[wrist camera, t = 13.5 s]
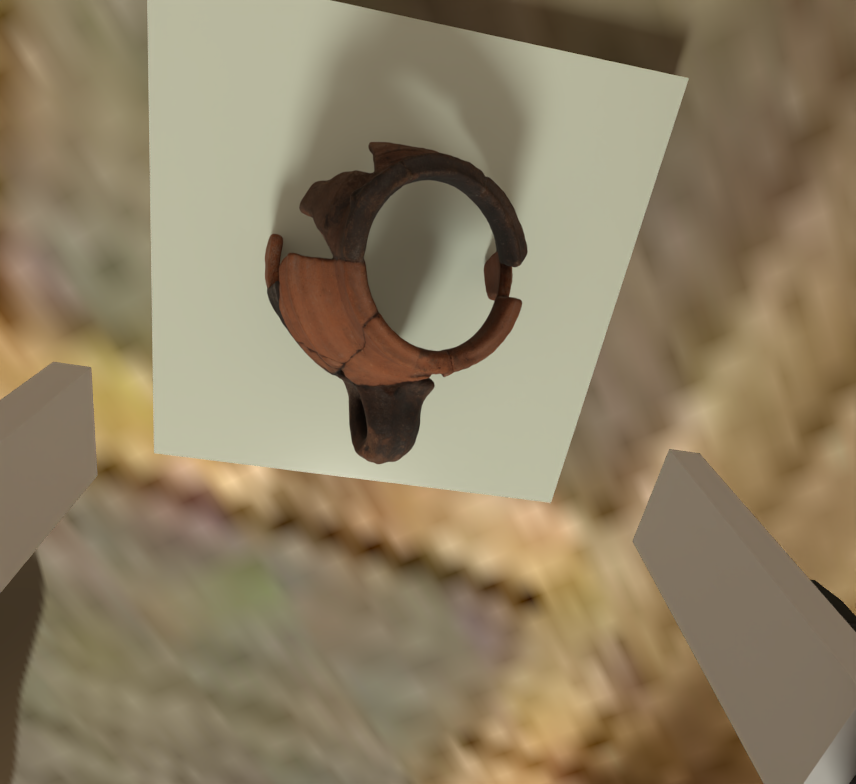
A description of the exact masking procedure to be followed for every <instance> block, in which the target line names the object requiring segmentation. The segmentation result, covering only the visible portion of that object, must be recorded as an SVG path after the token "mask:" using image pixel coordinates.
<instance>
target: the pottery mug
mask: <svg viewBox="0 0 856 784" xmlns="http://www.w3.org/2000/svg"><path fill="white" fill-rule="evenodd" d="M368 148H369V151H370V152H371V153H372V154H373V162H374V172H373V173H367V172H363V171H358V170H354V171H348V172H342V173H340V174H338V175H336V176H334V177H333V178H332V179H330V180H327V181H317V182H315V183H313V184H312V185H311V186H310V188H309V190H308V191H307V192H306V194H305V196H304V197H303V198H302V200H301V202H300V206H299V209H300V211H301V212H302V213H303V214H305V215H307V216H309V217H312V218H313V220H314V223H315V225H316V227H317V229H318V230H319V231H320V232H321V234H322V235H323V237H324V239H325V241H326V243H327V245H328V247H329V248H330V251H331V253H332V255H333V258H332V259H328V258H321V257H309V256H303V255H300V254H297V253H293V252H292V253H288V255H287V256H286V257H285V258H284V259H283V260H282V262H281V263H280V259H281V252H282V247H283V238H282V236H281V235H278V234H272V235H270V237H269V240H268V243H267V247H266V252H265V281H266V285H267V295H268V298H269V301H270V303H271V305H272V307H273V309H274V311H275V312H276V314H277V315H278V316H279V318H280V320H281V322H282V324H283V325H284V326H285V327H286V329H287V330H288V332H289V333H290V335H291V336H292V337H293V338H294V340H295V341H296V342H297V344H298V345H299V346H300V347H301V348H302V349H303V351H304V352H305V353H306V354H307V355H308V356H309V357H310V358H311V359H312V360H313V361H314V362H315V363H316V364H318V365H319V366H320V367H321V368H323V369H324V370H325V371H327V372H328V373H330V374H331V375H335V376H337V377H338V378H340V379H342V380H343V382H344V384H345V386H346V389H347V393H348V396H349V426H350V433H351V440H352V444H353V446H354V450H355V452H356V453H357V454H358V455H359V456H361V457H362V458H364V459H365V460H367V461H368V462H373V463H375V464H383V463H386V462H396V461H398V460H399V459H401V458H402V457H403V456H404V455H406V454H407V453H408V452H409V451H410V450H411V449H412V447H413V446H414V444H415V442H416V438H417V435H418V432H419V427H420V415H421V408H422V405H423V402H424V400H425V399H426V397H427V396H428V395H429V394H430V393H431V391H432V390H433V389H434V387H435V384H434V382H433V381H432V380H431V379H430V378H429V377H431V375H432V374H441V375H442V376H443V377H446V376H449V375H451V374H452V373H454V372H458V371H460V370H463V369H467V368H469V367H471V366H472V365H475V364H477V363H479V362H480V361H482V360H484V359H485V358H487V357H488V356H489V355H490V354H492V353H493V352H494V351H495V350H496V349H497V348H498V347H499V346H500V344H501V343H502V342H504V340H505V339H506V337H507V336H508V334H509V333H510V332H511V331H512V329H513V327H514V324H515V322H516V320H517V318H518V316H519V313H520V310H521V307H522V301H521V300H520V299H517V298H514V297H509V295H510V290H511V284H512V278H513V274H512V267H518V266H520V265H521V264H522V262H523V261H524V259H525V257H526V255H527V252H528V251H527V243H526V240H525V235H524V232H523V228H522V225H521V223H520V222H519V219H518V217H517V214H516V211H515V209H514V207H513V205H512V204H511V202H510V200H509V198H508V197H507V196H506V194H505V192H504V191H503V190H502V189H501V188H500V187H499V186H498V185H497V184H496V183H495V182H494V181H493V180H492V179H491V178H489V177H486V176H485V175H484V173H483V172H482V171H481V170H480V169H478V168H477V167H475V166H474V165H473V164H471V163H470V162H468V161H464V160H462V159H459V158H457V157H454V156H451V155H448V154H443V153H439V152H437V151H435V150H430V149H425V148H419V147H413V146H407V145H402V144H395V143H391V142H370V143H369V145H368ZM423 180H432V181H438V182H443V183H446V184H449V185H451V186H454V187H455V188H457V189H459V190H460V191H461V192H463V193H464V194H465V195H467V196H468V197H469V198H470V199H471V200H472V201H473V202H474V203H475V204H476V205H477V206H478V208H479V209H480V210H481V212H482V214H483V215H484V216H485V218H486V219H487V222H488V223H489V225H490V228H491V230H492V233H493V235H494V239H495V244H496V252H495V253H494V254H493V255H492V256H491V257H490V258H489V259H488V260H487V261H486V262H485V265H484V281H485V287H486V293H487V296H488V298H489V299H490V300H494V304H493V307H492V309H491V311H490V314H489V315H488V317H487V319H486V321H485V322H484V324H483V325H482V327H481V328H480V329H479V330H478V331H477V332H476V333H475V334H474V335H473V336H472V337H471V338H470V339H469V340H467V341H466V342H464V343H462V344H461V345H459V346H457V347H454V348H450V349H445V350H441V351H433V350H427V349H423V348H420V347H417V346H414V345H412V344H410V343H409V342H407V341H405V340H404V339H402V338H401V337H400V336H399V335H398V334H397V333H395V332H394V331H393V330H392V329H391V328H390V327H389V325H388V324H387V323H386V322H385V320H384V319H383V317H382V315H381V314H380V313H379V311H378V309H377V307H376V304H375V302H374V300H373V298H372V295H371V291H370V288H369V284H368V278H367V270H366V263H365V260H364V255H365V251H366V246H367V240H368V236H369V232H370V229H371V226H372V223H373V221H374V219H375V217H376V215H377V214H378V212H379V210H380V209H381V208H382V206H383V205H384V203H385V202H386V201H387V200H388V199H389V197H390V196H392V195H393V194H394V193H395V192H396V191H397V190H399V189H400V188H402V186H404V185H407V184H410V183H412V182H417V181H423Z"/></svg>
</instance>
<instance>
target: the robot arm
mask: <svg viewBox="0 0 856 784" xmlns="http://www.w3.org/2000/svg"><path fill="white" fill-rule="evenodd" d="M96 477H97V461H96V443H95V426H94V408H93V391H92V373H91V367H86V366H79V365H72V364H65V363H58V362H52V363H51V364H50V365H48V366H47V367H45V368H44V369H43V370H41V371H40V372H39V373H37V374H36V375H34V376H33V377H32V378H30V379H29V380H27V381H26V382H25V383H23V384H22V385H21V386H19V387H18V388H16V389H15V390H14V391H12V392H11V393H10V394H8V395H7V396H5V397H4V398H3V399H1V400H0V592H1V591H2V590H3V589H4V588H5V587H6V585H7V584H8V583H9V582H10V580H11V579H12V578H13V577H14V576H15V574H16V573H17V572H18V571H19V569H20V568H21V567H22V566H23V565H24V564H25V562H26V561H27V560H28V559H29V558H30V556H31V555H32V554H33V553H34V552H35V550H36V549H37V548H38V547H39V545H40V544H41V543H42V542H43V541H44V539H45V538H46V537H47V536H48V535H49V533H50V532H51V531H52V530H53V529H54V527H55V526H56V525H57V524H58V523H59V521H60V520H61V519H62V518H63V517H64V515H65V514H66V513H67V512H68V510H69V509H70V508H71V507H72V506H73V504H74V503H75V502H76V501H77V500H78V498H79V497H80V496H81V495H82V494H83V492H84V491H85V490H86V489H87V488H88V486H89V485H90V484H91V483H92V482H93V480H94V479H95V478H96ZM633 543H634V545H635V547H636V548H637V550H638V552H639V554H640V556H641V558H642V560H643V561H644V563H645V565H646V567H647V569H648V571H649V572H650V574H651V576H652V578H653V580H654V582H655V584H656V585H657V587H658V589H659V591H660V593H661V595H662V597H663V598H664V600H665V602H666V604H667V606H668V608H669V609H670V611H671V613H672V615H673V617H674V619H675V621H676V622H677V624H678V626H679V628H680V630H681V632H682V634H683V635H684V637H685V639H686V641H687V643H688V645H689V646H690V648H691V650H692V652H693V654H694V656H695V658H696V659H697V661H698V663H699V665H700V667H701V669H702V671H703V672H704V674H705V676H706V678H707V680H708V682H709V683H710V685H711V687H712V689H713V691H714V693H715V695H716V696H717V698H718V700H719V702H720V704H721V706H722V708H723V709H724V711H725V713H726V715H727V717H728V719H729V721H730V722H731V724H732V726H733V728H734V730H735V732H736V733H737V735H738V737H739V739H740V741H741V743H742V745H743V746H744V748H745V750H746V752H747V754H748V756H749V758H750V759H751V761H752V763H753V765H754V767H755V769H756V770H757V772H758V774H759V776H760V778H761V780H762V782H763V783H764V784H856V616H855V615H854V614H853V613H852V612H851V610H850V609H849V608H848V607H847V606H846V605H845V604H844V603H843V602H842V601H841V600H840V599H839V598H837V597H836V596H835V595H833V594H832V593H831V592H830V591H828V590H827V589H826V588H824V587H823V586H822V585H820V584H819V583H818V582H816V581H815V580H810V579H809V578H808V577H807V576H806V575H805V574H804V572H803V571H802V570H801V569H800V568H799V567H798V566H797V564H796V563H795V562H794V561H793V560H792V559H791V558H790V556H789V555H788V554H787V553H786V552H785V551H784V550H783V548H782V547H781V546H780V545H779V544H778V543H777V542H776V540H775V539H774V538H773V537H772V536H771V535H770V534H769V532H768V531H767V530H766V529H765V528H764V527H763V526H762V524H761V523H760V522H759V521H758V520H757V519H756V518H755V516H754V515H753V514H752V513H751V512H750V511H749V510H748V508H747V507H746V506H745V505H744V504H743V503H742V502H741V500H740V499H739V498H738V497H737V496H736V495H735V493H734V492H733V491H732V490H731V489H730V488H729V487H728V485H727V484H726V483H725V482H724V481H723V480H722V479H721V477H720V476H719V475H718V474H717V473H716V472H715V471H714V469H713V468H712V467H711V466H710V465H709V464H708V463H707V461H706V460H705V459H704V458H703V457H702V456H701V455H700V453H693V452H686V451H679V450H672V449H669V451H668V454H667V456H666V459H665V461H664V464H663V466H662V469H661V471H660V474H659V476H658V479H657V481H656V484H655V486H654V489H653V491H652V494H651V496H650V499H649V501H648V504H647V506H646V509H645V511H644V514H643V516H642V519H641V521H640V524H639V526H638V529H637V531H636V534H635V536H634V539H633Z"/></svg>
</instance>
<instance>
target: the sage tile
mask: <svg viewBox="0 0 856 784" xmlns="http://www.w3.org/2000/svg"><path fill="white" fill-rule="evenodd" d="M147 12H148V78H149V145H150V211H151V277H152V343H153V409H154V453H158V454H166V455H174V456H182V457H190V458H198V459H206V460H214V461H222V462H230V463H238V464H246V465H254V466H262V467H270V468H278V469H286V470H294V471H302V472H310V473H318V474H326V475H334V476H342V477H350V478H358V479H366V480H374V481H382V482H390V483H398V484H406V485H414V486H422V487H430V488H438V489H446V490H454V491H462V492H470V493H478V494H486V495H494V496H502V497H510V498H518V499H526V500H534V501H542V502H550V503H551V501H552V498H553V494H554V491H555V488H556V485H557V482H558V479H559V476H560V473H561V470H562V467H563V464H564V461H565V458H566V454H567V451H568V448H569V445H570V442H571V439H572V436H573V433H574V430H575V427H576V424H577V421H578V418H579V414H580V411H581V408H582V405H583V402H584V399H585V396H586V393H587V390H588V387H589V384H590V381H591V378H592V374H593V371H594V368H595V365H596V362H597V359H598V356H599V353H600V350H601V347H602V344H603V341H604V338H605V334H606V331H607V328H608V325H609V322H610V319H611V316H612V313H613V310H614V307H615V304H616V301H617V298H618V294H619V291H620V288H621V285H622V282H623V279H624V276H625V273H626V270H627V267H628V264H629V261H630V258H631V254H632V251H633V248H634V245H635V242H636V239H637V236H638V233H639V230H640V227H641V224H642V221H643V218H644V215H645V211H646V208H647V205H648V202H649V199H650V196H651V193H652V190H653V187H654V184H655V181H656V178H657V175H658V171H659V168H660V165H661V162H662V159H663V156H664V153H665V150H666V147H667V144H668V141H669V138H670V135H671V131H672V128H673V125H674V122H675V119H676V116H677V113H678V110H679V107H680V104H681V101H682V98H683V95H684V91H685V88H686V85H687V82H688V79H689V78H685V77H681V76H676V75H672V74H667V73H662V72H658V71H653V70H649V69H644V68H640V67H635V66H630V65H626V64H621V63H617V62H612V61H607V60H603V59H598V58H594V57H589V56H584V55H580V54H575V53H571V52H566V51H561V50H557V49H552V48H548V47H543V46H538V45H534V44H529V43H525V42H520V41H516V40H511V39H506V38H502V37H497V36H493V35H488V34H483V33H479V32H474V31H470V30H465V29H460V28H456V27H451V26H447V25H442V24H437V23H433V22H428V21H424V20H419V19H414V18H410V17H405V16H401V15H396V14H392V13H387V12H382V11H378V10H373V9H369V8H364V7H359V6H355V5H350V4H346V3H341V2H336V1H332V0H147ZM370 142H391V143H395V144H402V145H407V146H413V147H419V148H425V149H430V150H435V151H437V152H439V153H443V154H448V155H451V156H454V157H457V158H459V159H462V160H464V161H468V162H470V163H471V164H473V165H474V166H475V167H477V168H478V169H480V170H481V171H482V172H483V173H484V175H485V176H486V177H489V178H491V179H492V180H493V181H494V182H495V183H496V184H497V185H498V186H499V187H500V188H501V189H502V190H503V191H504V192H505V194H506V196H507V197H508V198H509V200H510V202H511V204H512V205H513V207H514V209H515V211H516V214H517V217H518V219H519V222H520V223H521V225H522V228H523V232H524V235H525V240H526V243H527V251H528V252H527V255H526V257H525V259H524V261H523V262H522V264H521V265H520V266H518V267H512V274H513V278H512V284H511V290H510V295H509V297H514V298H517V299H520V300H521V301H522V307H521V310H520V313H519V316H518V318H517V320H516V322H515V324H514V327H513V329H512V331H511V332H510V333H509V334H508V336H507V337H506V339H505V340H504V342H502V343H501V344H500V346H499V347H498V348H497V349H496V350H495V351H494V352H493V353H492V354H490V355H489V356H488V357H487V358H485V359H484V360H482V361H480V362H479V363H477V364H475V365H472V366H471V367H469V368H467V369H463V370H460V371H458V372H454V373H452V374H451V375H449V376H446V377H443V376H442V375H441V374H432V375H431V377H429V378H430V379H431V380H432V381H433V382H434V384H435V387H434V389H433V390H432V391H431V393H430V394H429V395H428V396H427V397H426V399H425V400H424V402H423V405H422V408H421V415H420V427H419V432H418V435H417V438H416V442H415V444H414V446H413V447H412V449H411V450H410V451H409V452H408V453H407V454H406V455H404V456H403V457H402V458H401V459H399V460H398V461H396V462H386V463H383V464H375V463H373V462H368V461H367V460H365V459H364V458H362V457H361V456H359V455H358V454H357V453H356V452H355V450H354V446H353V444H352V440H351V433H350V426H349V396H348V393H347V389H346V386H345V384H344V382H343V380H342V379H340V378H338V377H337V376H335V375H331V374H330V373H328V372H327V371H325V370H324V369H323V368H321V367H320V366H319V365H318V364H316V363H315V362H314V361H313V360H312V359H311V358H310V357H309V356H308V355H307V354H306V353H305V352H304V351H303V349H302V348H301V347H300V346H299V345H298V344H297V342H296V341H295V340H294V338H293V337H292V336H291V335H290V333H289V332H288V330H287V329H286V327H285V326H284V325H283V324H282V322H281V320H280V318H279V316H278V315H277V314H276V312H275V311H274V309H273V307H272V305H271V303H270V301H269V298H268V295H267V285H266V281H265V252H266V247H267V243H268V240H269V237H270V235H272V234H278V235H281V236H282V238H283V247H282V252H281V259H280V263H281V262H282V260H283V259H284V258H285V257H286V256H287V255H288V253H292V252H293V253H297V254H300V255H303V256H309V257H321V258H328V259H332V258H333V255H332V253H331V251H330V248H329V247H328V245H327V243H326V241H325V239H324V237H323V235H322V234H321V232H320V231H319V230H318V229H317V227H316V225H315V223H314V220H313V218H312V217H309V216H307V215H305V214H303V213H302V212H301V211H300V209H299V206H300V202H301V200H302V198H303V197H304V196H305V194H306V192H307V191H308V190H309V188H310V186H311V185H312V184H313V183H315V182H317V181H327V180H330V179H332V178H333V177H334V176H336V175H338V174H340V173H342V172H348V171H354V170H358V171H363V172H367V173H373V172H374V162H373V154H372V153H371V152H370V151H369V148H368V145H369V143H370ZM495 252H496V244H495V239H494V235H493V233H492V230H491V228H490V225H489V223H488V222H487V219H486V218H485V216H484V215H483V214H482V212H481V210H480V209H479V208H478V206H477V205H476V204H475V203H474V202H473V201H472V200H471V199H470V198H469V197H468V196H467V195H465V194H464V193H463V192H461V191H460V190H459V189H457V188H455V187H454V186H451V185H449V184H446V183H443V182H438V181H432V180H423V181H417V182H412V183H410V184H407V185H404V186H402V188H400V189H399V190H397V191H396V192H395V193H394V194H393V195H392V196H390V197H389V199H388V200H387V201H386V202H385V203H384V205H383V206H382V208H381V209H380V210H379V212H378V214H377V215H376V217H375V219H374V221H373V223H372V226H371V229H370V232H369V236H368V240H367V246H366V251H365V255H364V260H365V263H366V270H367V278H368V284H369V288H370V291H371V295H372V298H373V300H374V302H375V304H376V307H377V309H378V311H379V313H380V314H381V315H382V317H383V319H384V320H385V322H386V323H387V324H388V325H389V327H390V328H391V329H392V330H393V331H394V332H395V333H397V334H398V335H399V336H400V337H401V338H402V339H404V340H405V341H407V342H409V343H410V344H412V345H414V346H417V347H420V348H423V349H427V350H433V351H441V350H445V349H450V348H454V347H457V346H459V345H461V344H462V343H464V342H466V341H467V340H469V339H470V338H471V337H472V336H473V335H474V334H475V333H476V332H477V331H478V330H479V329H480V328H481V327H482V325H483V324H484V322H485V321H486V319H487V317H488V315H489V314H490V311H491V309H492V307H493V304H494V300H490V299H489V298H488V296H487V293H486V287H485V281H484V265H485V262H486V261H487V260H488V259H489V258H490V257H491V256H492V255H493V254H494V253H495Z"/></svg>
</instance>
